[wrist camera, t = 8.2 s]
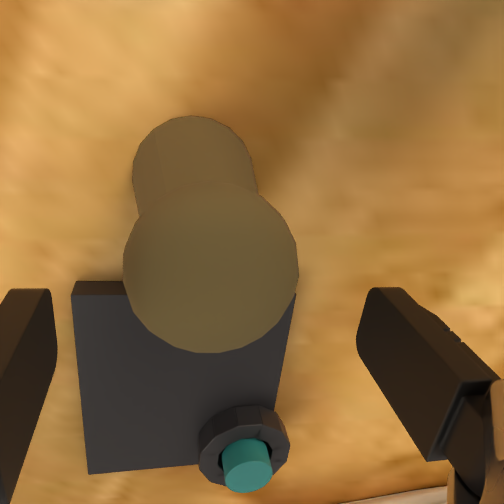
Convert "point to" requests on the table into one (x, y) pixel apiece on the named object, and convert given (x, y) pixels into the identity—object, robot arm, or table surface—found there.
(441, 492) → the square plate
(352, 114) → the table surface
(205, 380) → the scale
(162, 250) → the cork
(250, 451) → the button
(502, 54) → the table surface
